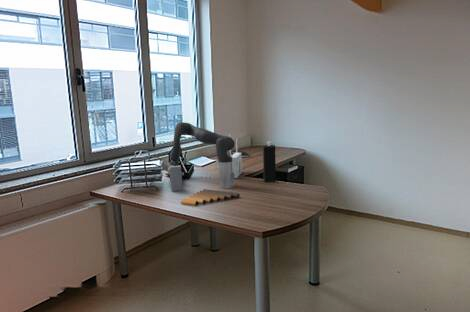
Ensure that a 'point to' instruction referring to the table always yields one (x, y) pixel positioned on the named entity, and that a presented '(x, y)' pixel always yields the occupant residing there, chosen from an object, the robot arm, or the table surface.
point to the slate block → (176, 178)
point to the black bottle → (269, 162)
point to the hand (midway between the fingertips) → (175, 177)
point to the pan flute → (208, 197)
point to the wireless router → (243, 154)
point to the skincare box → (236, 164)
